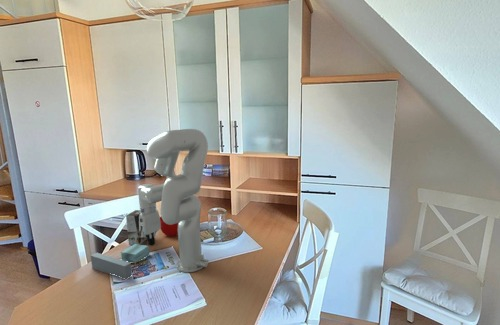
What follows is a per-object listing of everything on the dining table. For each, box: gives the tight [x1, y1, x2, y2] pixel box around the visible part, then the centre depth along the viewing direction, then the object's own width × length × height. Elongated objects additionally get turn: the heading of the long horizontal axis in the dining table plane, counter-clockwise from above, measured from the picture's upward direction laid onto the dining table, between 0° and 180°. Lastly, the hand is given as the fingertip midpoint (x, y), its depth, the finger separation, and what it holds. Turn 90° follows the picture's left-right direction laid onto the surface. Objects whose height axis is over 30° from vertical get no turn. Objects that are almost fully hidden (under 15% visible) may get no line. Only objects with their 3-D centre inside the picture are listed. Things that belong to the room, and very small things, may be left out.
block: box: [120, 244, 150, 263], centre depth 135 cm, size 8×9×5 cm
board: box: [90, 252, 133, 280], centre depth 123 cm, size 22×3×6 cm, turn 62°
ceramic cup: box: [159, 216, 179, 238], centre depth 160 cm, size 13×17×10 cm
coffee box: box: [125, 209, 148, 246], centre depth 153 cm, size 9×6×16 cm
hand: (151, 244), depth 143 cm, fingers closed
